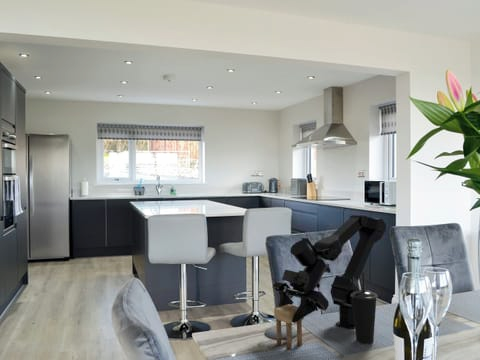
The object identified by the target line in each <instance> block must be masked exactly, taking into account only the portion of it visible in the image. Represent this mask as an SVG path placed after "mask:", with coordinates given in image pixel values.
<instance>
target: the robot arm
mask: <svg viewBox="0 0 480 360" xmlns="http://www.w3.org/2000/svg"><path fill="white" fill-rule="evenodd" d="M386 229H387V224H386V223H385V220H384V219H382V218H375V217H369V216H367V215H364V214H356V213H355V214H351V215H349V217H348V219H347V220H346V221H345V222H344V223H343V224H341V225H340V227H338V228H337V229H336V231H334V232H333V233H332V234H331V235H329V236H326V237H325V236H324V237H322V238H321V239H319V240H317V241H316V242H315V243H314V244H312V242H311V241H310V239H309V238H308V237H302V238H301V240H298V241H296V242H295V243H294V244H292V246H291V247H290V250H289V251H290V254H291V255H292V256H293V257H294V259H295V260H296V261H297V262H298V263H299V264H300V265H301V266H302V267H304V268H303V269H302V270H298V272H297V271H293V270H290V269H284V270H283V274H282V277H281V280H282V281H279V280H277V281H275V282H274V283H273V285H272V289H274V291H275V292H276V293H277V294H278V295H279V303H278V307H280V306H284V305H288V304H290V305H293V304H294V301H293V300H292V298H294V297H295V298H300V302H299V305H298V306H297V307H298V309H297V311H296V313H295V315H294V317H293V319H292V323H293V324H297V321H299V320H300V319H302V318H303V317H307V316H308V315H310V314H312V313H314V312H317V311H319V310H321V311H324V312H326V311H327V309H328V307H329V304H330V302H329V300H328V298H327V297H325V295H324V294H323V292H321V291H318V290H315V289H316V288H317V289H319V288H320V287H321V284H320V283H319V282H320V280H321V279H322V277H323V275H324V274H325V273H327V274H330V273H331V271H332V270H331V268H330V264H329V263H326V262H325V261H329V262H335V261H336V260H337V259H338V258H339V256H340V255H341V254H342V252H343V246H344V245H345V244H346V243H347V242H348V241H349V240H350V239H352V238H353V236H355V234H357V233H358V235H359V239H358V241H357V243H356V246H355V248H354V250H353V252H352V254H351V257H350V259H349V261H348V264H347V266H346V268H345V270H344V272H343V274H341V275H336V276H335V277H334V279H333V282H332V283H331V285H330V296H331V299H332V303H333V305H337V306H338V307H339V308H338V309H339V311H338V312H339V313H338V315H339V319H338V321H337V322H335V326H339V327H342V328H343V327H344V328H346V329H353V330H355V323H354V314H353V305H352V297H351V293H352V292H355V291H357V290H361V289H360V285H359V280H360V278H361V275H362V273H363V270H364V268H365V266H366V263H367V260H368V259H369V256H370V253H371V251H372V249H373V246H374V245H375V244H376V243H377V242H379V241H380V240H381V239H382V238H383V236H384V234H385V232H386V231H387V230H386ZM285 281H286V282H285ZM287 282H288V283H289V284H287ZM302 320H303V319H302Z"/></svg>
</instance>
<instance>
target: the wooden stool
mask: <svg viewBox="0 0 480 360" xmlns="http://www.w3.org/2000/svg"><path fill="white" fill-rule="evenodd" d="M298 307H299V306H296V305H293V304H292V305H290V304H288V305H284V306H280V307H279V306H278V307H277V306H276V307H274V309H273V311H274V312H273V314H274V316H273V318H274V319H275V320H276V321H275V323H276V325H275V326H276V330H277V339H276V346H277V345H278V346H282V345H283V344H282V343H283V342H282V341H283V339H281V326H282V322H284V323H285V326H286V339H285V340H286V341H285V342H286V350H292V345H293V344H292V342H293V338H292V328H293V327H292V326H293V325H292V323H293V322H292V319H293V317H294V315H295V313H296V311H297V309H298ZM303 320H304V317H303V318H302V319H300V320H299V321H297V322H296V330H297V336H296V341H297V342H296V343H297V346H298V347H302V346H303V323H302V321H303Z"/></svg>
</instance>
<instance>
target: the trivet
mask: <svg viewBox="0 0 480 360" xmlns="http://www.w3.org/2000/svg"><path fill="white" fill-rule="evenodd" d="M264 334H265V336H266V335H267V337H268V338H270V339H275V340H277V330H276V325H275V326H271V327H268V328H266V329H265V330H264ZM293 338H297V328H294V327H292V339H293ZM281 340H286V325H285V326H283V325H281Z"/></svg>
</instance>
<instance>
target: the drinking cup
mask: <svg viewBox="0 0 480 360" xmlns="http://www.w3.org/2000/svg"><path fill="white" fill-rule="evenodd" d="M365 274H366V273H365V272H362V273H361V275H362V277H361V279H362V280H361V281H362V284H361V285H362V289H360V290H357V291H355V292H352V293H351V297H352V305H353V314H354V323H355V328H354V330H355V339H356V342H358V343H360V344H366V345H367V344H373V343H374V337H375V324H376V323H375V321H376V310H377V299H378V294H377V293H375V292H373V291H371V290H367V289H366V284H365V283H366V276H365Z"/></svg>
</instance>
